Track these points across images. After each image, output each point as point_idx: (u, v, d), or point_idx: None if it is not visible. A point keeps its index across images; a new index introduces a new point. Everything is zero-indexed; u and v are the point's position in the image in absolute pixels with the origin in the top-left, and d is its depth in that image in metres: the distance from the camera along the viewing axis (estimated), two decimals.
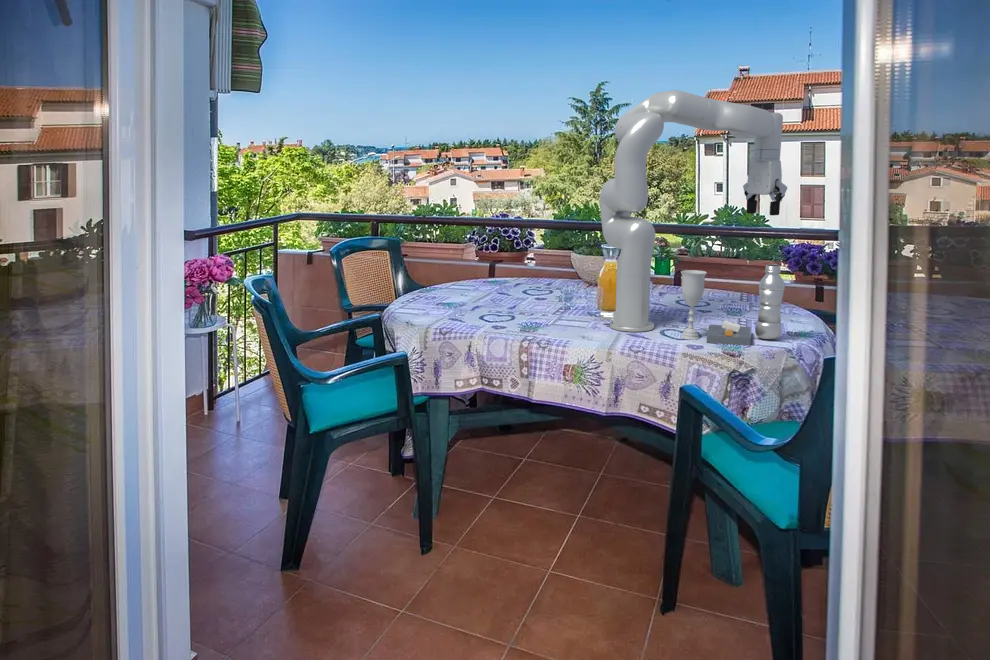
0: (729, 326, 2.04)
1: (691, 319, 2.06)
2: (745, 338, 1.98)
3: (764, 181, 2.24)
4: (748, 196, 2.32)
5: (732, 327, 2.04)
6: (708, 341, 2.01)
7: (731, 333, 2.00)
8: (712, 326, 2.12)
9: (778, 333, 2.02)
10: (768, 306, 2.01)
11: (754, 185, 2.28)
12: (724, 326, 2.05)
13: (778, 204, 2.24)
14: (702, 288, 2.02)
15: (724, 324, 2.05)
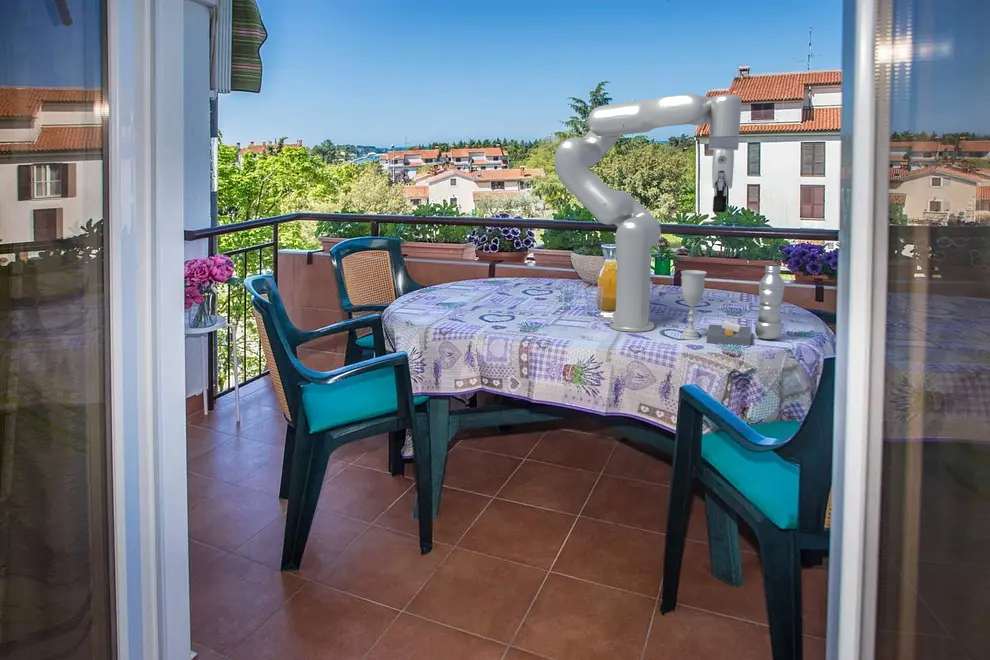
0: (729, 326, 2.04)
1: (691, 319, 2.06)
2: (745, 338, 1.98)
3: None
4: (725, 192, 1.96)
5: (732, 327, 2.04)
6: (708, 341, 2.01)
7: (731, 333, 2.00)
8: (712, 326, 2.12)
9: (778, 333, 2.02)
10: (768, 306, 2.01)
11: (732, 178, 1.98)
12: (724, 326, 2.05)
13: None
14: (702, 288, 2.02)
15: (724, 324, 2.05)
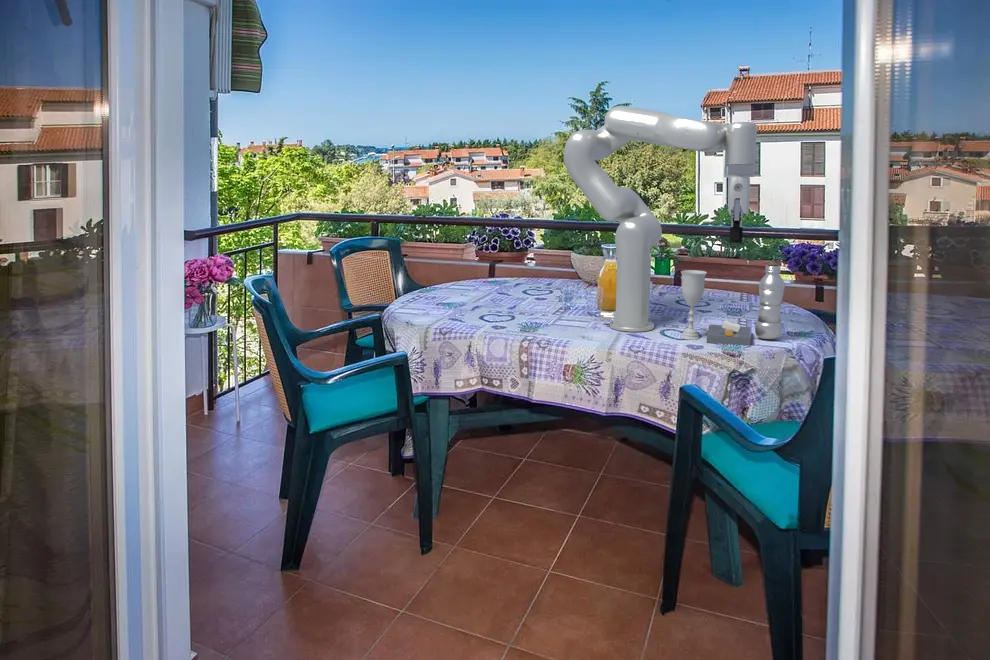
0: (729, 326, 2.04)
1: (691, 319, 2.06)
2: (745, 338, 1.98)
3: None
4: None
5: (732, 327, 2.04)
6: (708, 341, 2.01)
7: (731, 333, 2.00)
8: (712, 326, 2.12)
9: (778, 333, 2.02)
10: (768, 306, 2.01)
11: None
12: (724, 326, 2.05)
13: None
14: (702, 288, 2.02)
15: (724, 324, 2.05)
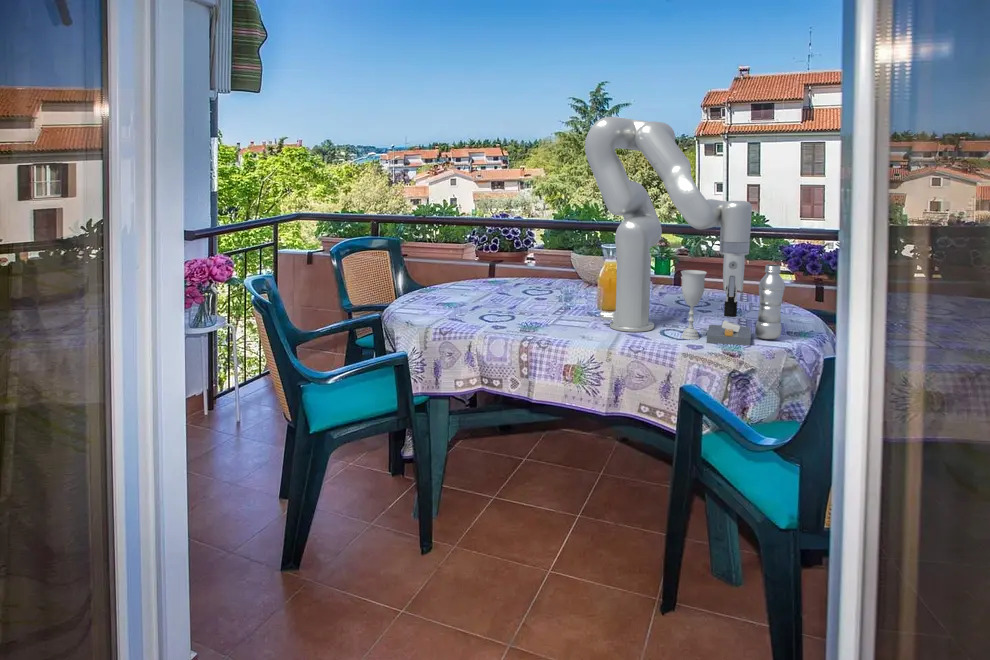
0: (729, 326, 2.04)
1: (691, 319, 2.06)
2: (745, 338, 1.98)
3: None
4: (736, 298, 2.03)
5: (732, 327, 2.04)
6: (708, 341, 2.01)
7: (731, 333, 2.00)
8: (712, 326, 2.12)
9: (778, 333, 2.02)
10: (768, 306, 2.01)
11: (743, 281, 2.01)
12: (724, 326, 2.05)
13: None
14: (702, 288, 2.02)
15: (724, 324, 2.05)
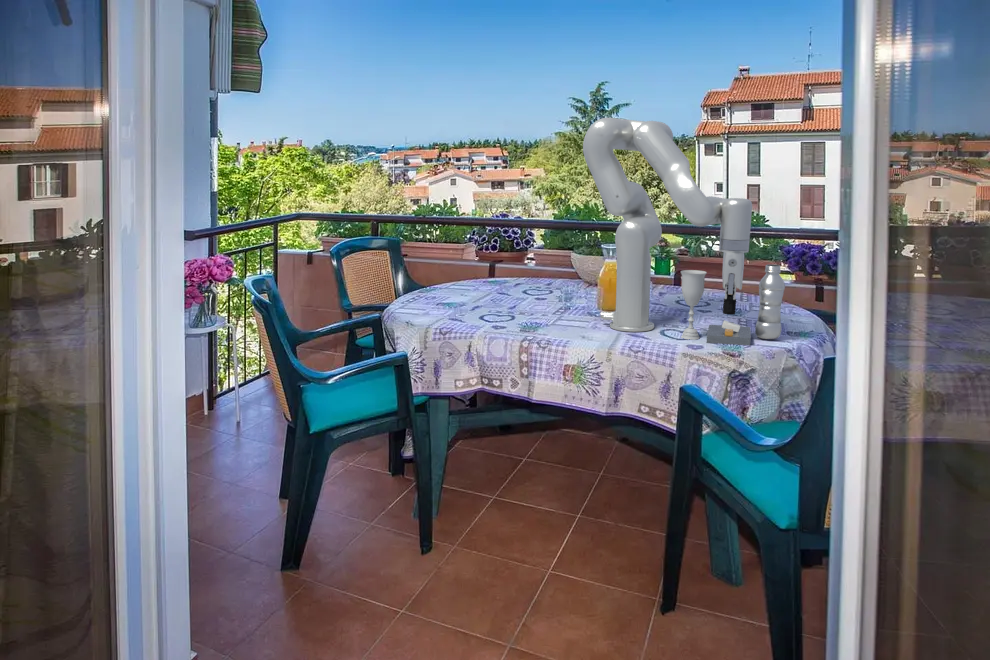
0: (729, 326, 2.04)
1: (691, 319, 2.06)
2: (745, 338, 1.98)
3: None
4: None
5: (732, 327, 2.04)
6: (708, 341, 2.01)
7: (731, 333, 2.00)
8: (712, 326, 2.12)
9: (778, 333, 2.02)
10: (768, 306, 2.01)
11: (742, 279, 2.01)
12: (724, 326, 2.05)
13: None
14: (702, 288, 2.02)
15: (724, 324, 2.05)
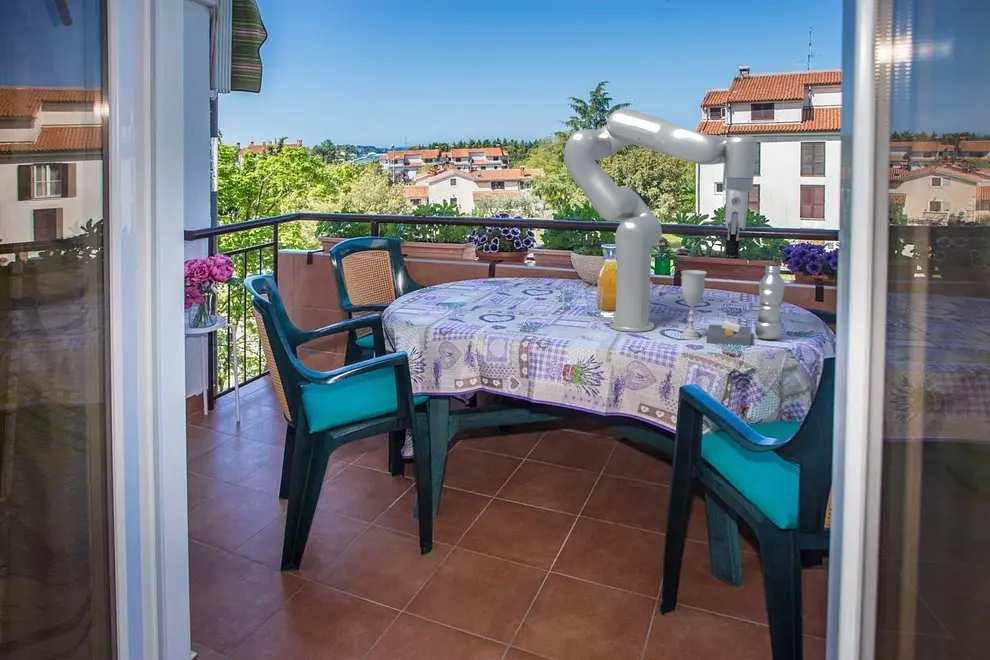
0: (729, 326, 2.04)
1: (691, 319, 2.06)
2: (745, 338, 1.98)
3: None
4: (738, 236, 2.00)
5: (732, 327, 2.04)
6: (708, 341, 2.01)
7: (731, 333, 2.00)
8: (712, 326, 2.12)
9: (778, 333, 2.02)
10: (768, 306, 2.01)
11: None
12: (724, 326, 2.05)
13: None
14: (702, 288, 2.02)
15: (724, 324, 2.05)
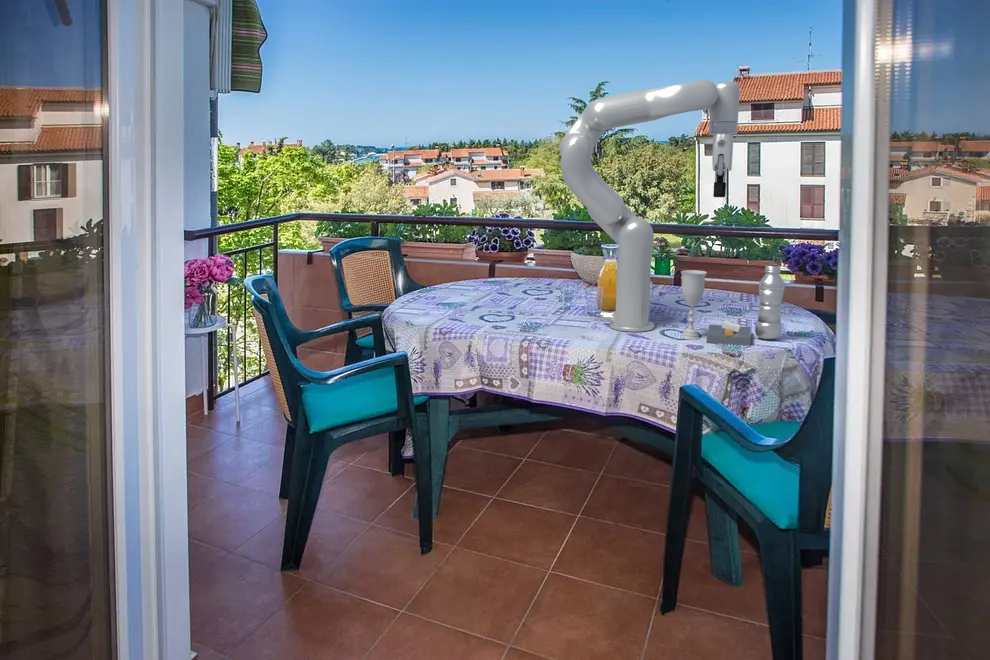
0: (729, 326, 2.04)
1: (691, 319, 2.06)
2: (745, 338, 1.98)
3: None
4: (725, 178, 2.11)
5: (732, 327, 2.04)
6: (708, 341, 2.01)
7: (731, 333, 2.00)
8: (712, 326, 2.12)
9: (778, 333, 2.02)
10: (768, 306, 2.01)
11: None
12: (724, 326, 2.05)
13: None
14: (702, 288, 2.02)
15: (724, 324, 2.05)
